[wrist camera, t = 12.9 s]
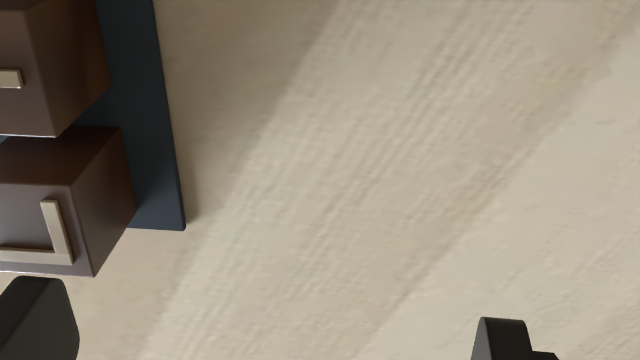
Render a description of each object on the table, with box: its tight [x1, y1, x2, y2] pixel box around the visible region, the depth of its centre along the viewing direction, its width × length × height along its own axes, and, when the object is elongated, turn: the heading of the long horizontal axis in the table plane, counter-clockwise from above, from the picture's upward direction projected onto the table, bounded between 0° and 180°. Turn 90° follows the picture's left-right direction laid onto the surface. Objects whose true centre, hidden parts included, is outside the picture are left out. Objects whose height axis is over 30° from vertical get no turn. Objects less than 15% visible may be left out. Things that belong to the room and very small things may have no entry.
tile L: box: [0, 125, 137, 277], centre depth 26 cm, size 5×5×5 cm
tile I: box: [0, 0, 111, 138], centre depth 22 cm, size 5×5×5 cm
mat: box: [0, 0, 186, 231], centre depth 25 cm, size 20×9×1 cm, turn 1°
